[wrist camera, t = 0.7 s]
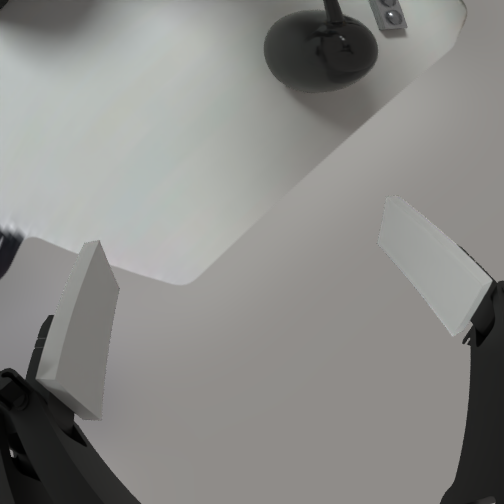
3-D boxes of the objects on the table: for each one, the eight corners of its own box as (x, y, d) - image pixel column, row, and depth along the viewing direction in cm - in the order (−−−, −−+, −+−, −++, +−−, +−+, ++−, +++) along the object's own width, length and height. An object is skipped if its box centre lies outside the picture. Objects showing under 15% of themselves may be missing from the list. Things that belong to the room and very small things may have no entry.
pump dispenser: (311, 8, 24) (381, -19, 12) (344, 74, 30) (423, 85, 18) (240, 34, 26) (276, 5, 13) (279, 103, 32) (336, 123, 20)
